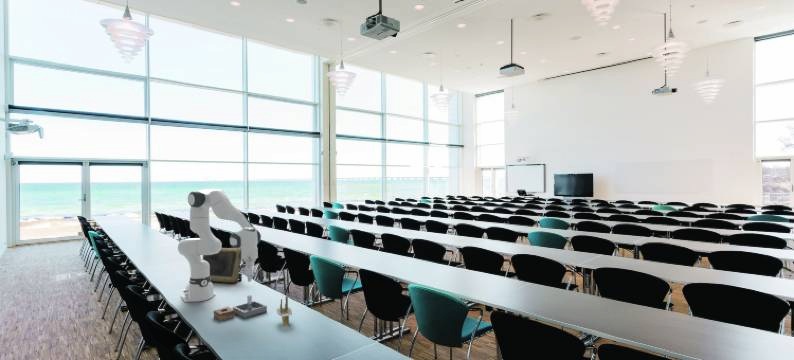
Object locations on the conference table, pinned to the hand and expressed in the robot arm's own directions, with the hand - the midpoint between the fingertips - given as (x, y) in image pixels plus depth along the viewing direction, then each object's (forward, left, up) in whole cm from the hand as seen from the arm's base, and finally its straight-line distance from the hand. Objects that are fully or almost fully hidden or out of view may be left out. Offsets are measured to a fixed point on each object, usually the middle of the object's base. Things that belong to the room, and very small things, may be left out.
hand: (250, 278), depth 219 cm
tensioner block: (-4, -13, -20) cm, 24 cm away
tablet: (-78, +18, -20) cm, 83 cm away
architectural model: (+29, +4, -20) cm, 36 cm away
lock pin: (0, 0, -19) cm, 19 cm away
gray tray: (0, 0, -20) cm, 20 cm away
